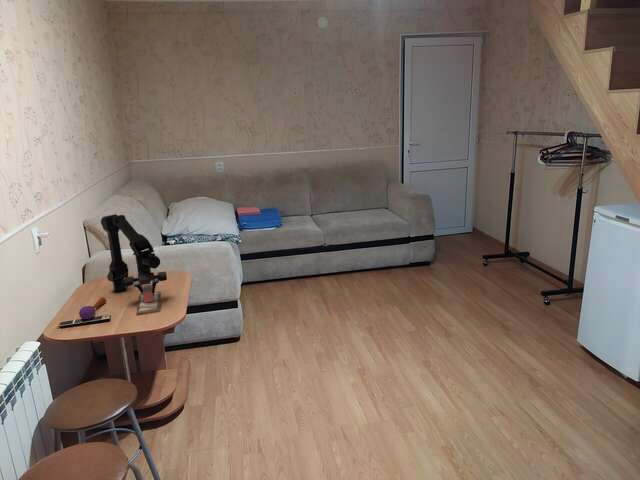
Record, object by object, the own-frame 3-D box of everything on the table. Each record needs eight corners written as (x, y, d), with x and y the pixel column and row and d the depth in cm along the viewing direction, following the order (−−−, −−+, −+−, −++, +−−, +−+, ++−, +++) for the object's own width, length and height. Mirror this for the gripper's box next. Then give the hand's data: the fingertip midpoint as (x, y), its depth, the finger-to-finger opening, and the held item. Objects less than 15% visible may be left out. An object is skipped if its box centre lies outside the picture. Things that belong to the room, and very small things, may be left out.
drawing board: (139, 296, 230) (139, 293, 230) (160, 292, 233) (160, 290, 233) (136, 315, 208) (136, 313, 208) (160, 311, 211) (159, 309, 211)
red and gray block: (145, 294, 227) (143, 285, 225) (153, 292, 228) (152, 284, 226) (144, 302, 216) (142, 293, 215) (153, 301, 218) (151, 292, 216)
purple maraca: (109, 295, 223) (90, 309, 204) (108, 306, 225) (90, 322, 205) (96, 293, 223) (76, 308, 203) (96, 305, 224) (76, 320, 205)
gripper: (120, 273, 208) (126, 305, 212) (164, 266, 213) (169, 298, 217) (122, 265, 218) (128, 296, 222) (164, 259, 223) (169, 290, 227)
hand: (148, 295), depth 222 cm, fingers closed on red and gray block, 4 cm apart
